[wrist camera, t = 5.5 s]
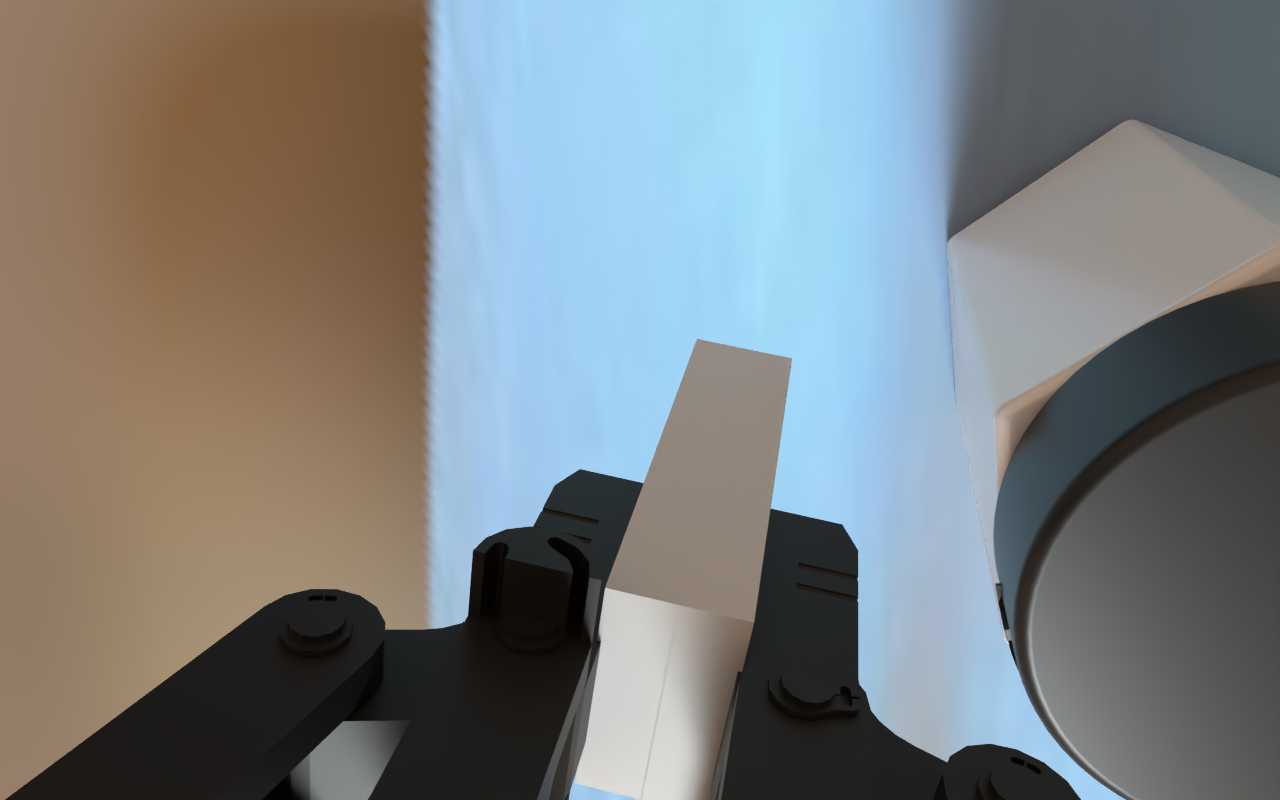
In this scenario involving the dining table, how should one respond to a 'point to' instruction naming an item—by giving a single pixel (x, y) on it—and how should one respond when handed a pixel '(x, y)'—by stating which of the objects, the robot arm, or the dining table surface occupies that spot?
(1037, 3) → the dining table surface
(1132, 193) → the jar
